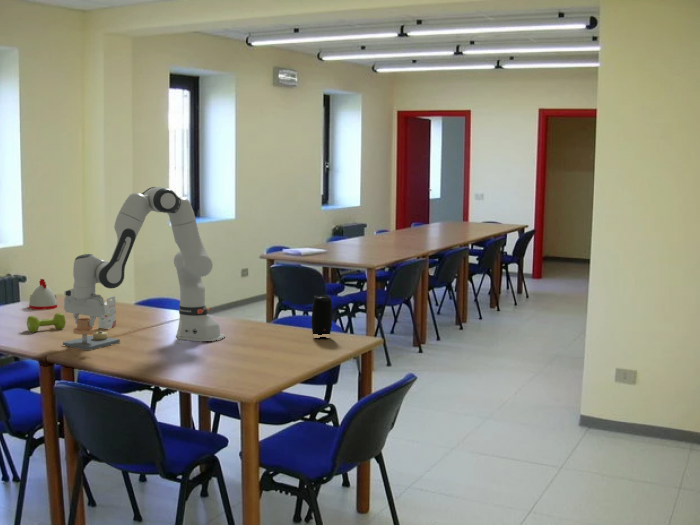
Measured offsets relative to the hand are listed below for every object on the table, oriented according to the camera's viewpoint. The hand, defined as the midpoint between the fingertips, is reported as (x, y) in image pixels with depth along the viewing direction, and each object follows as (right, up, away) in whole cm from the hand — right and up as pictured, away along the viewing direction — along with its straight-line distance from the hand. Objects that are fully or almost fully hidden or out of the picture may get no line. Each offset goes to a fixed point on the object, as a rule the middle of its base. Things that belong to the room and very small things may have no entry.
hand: (84, 324), depth 348 cm
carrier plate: (+2, -9, +5) cm, 10 cm away
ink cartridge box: (-2, -4, +40) cm, 41 cm away
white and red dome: (-49, +3, +86) cm, 99 cm away
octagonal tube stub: (0, -3, 0) cm, 3 cm away
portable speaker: (+99, -9, +32) cm, 105 cm away
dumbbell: (-27, -5, +31) cm, 41 cm away
